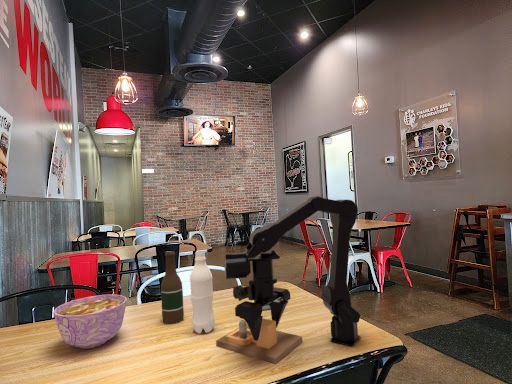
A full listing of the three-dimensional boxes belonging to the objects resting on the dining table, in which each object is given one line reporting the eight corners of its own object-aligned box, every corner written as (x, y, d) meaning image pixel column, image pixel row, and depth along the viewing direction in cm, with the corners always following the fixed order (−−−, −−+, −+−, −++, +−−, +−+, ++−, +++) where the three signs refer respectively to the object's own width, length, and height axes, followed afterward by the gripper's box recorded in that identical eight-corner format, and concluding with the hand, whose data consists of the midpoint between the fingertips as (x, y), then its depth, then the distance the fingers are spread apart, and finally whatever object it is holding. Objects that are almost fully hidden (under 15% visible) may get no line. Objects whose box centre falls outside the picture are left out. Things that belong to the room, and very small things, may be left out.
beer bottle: (187, 316, 116) (184, 249, 117) (180, 324, 108) (176, 253, 109) (166, 316, 117) (163, 250, 117) (158, 324, 109) (154, 254, 110)
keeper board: (302, 341, 91) (300, 318, 91) (275, 364, 80) (274, 337, 80) (246, 328, 103) (245, 307, 103) (216, 345, 91) (215, 322, 91)
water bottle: (210, 335, 98) (206, 253, 99) (188, 334, 100) (184, 254, 100) (218, 326, 105) (214, 249, 106) (197, 325, 107) (193, 250, 107)
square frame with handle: (280, 340, 89) (279, 318, 89) (265, 351, 83) (263, 328, 83) (241, 330, 97) (240, 310, 97) (225, 340, 91) (224, 319, 91)
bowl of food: (43, 364, 86) (42, 320, 86) (66, 334, 105) (65, 299, 105) (124, 351, 91) (122, 309, 91) (131, 325, 110) (130, 291, 110)
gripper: (258, 266, 100) (261, 317, 99) (217, 280, 85) (220, 340, 84) (289, 269, 93) (292, 323, 93) (251, 285, 78) (254, 350, 78)
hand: (265, 333), depth 87 cm, fingers open, 9 cm apart
